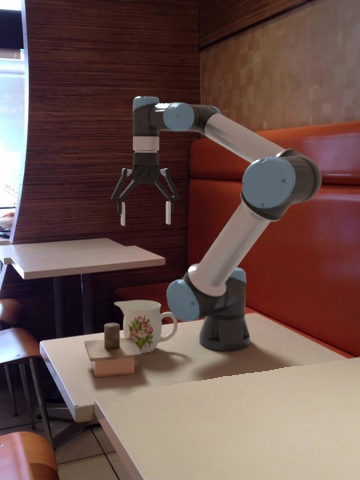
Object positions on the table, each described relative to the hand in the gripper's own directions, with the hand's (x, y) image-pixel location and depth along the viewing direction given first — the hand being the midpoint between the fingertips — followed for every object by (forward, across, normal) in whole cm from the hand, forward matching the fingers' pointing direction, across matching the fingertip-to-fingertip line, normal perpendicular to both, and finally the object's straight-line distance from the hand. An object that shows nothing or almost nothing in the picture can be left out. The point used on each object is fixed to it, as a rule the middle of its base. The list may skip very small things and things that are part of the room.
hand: (145, 224), depth 174 cm
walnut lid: (+30, +14, +22) cm, 40 cm away
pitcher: (+35, +2, +10) cm, 37 cm away
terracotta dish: (+35, +14, +22) cm, 44 cm away
